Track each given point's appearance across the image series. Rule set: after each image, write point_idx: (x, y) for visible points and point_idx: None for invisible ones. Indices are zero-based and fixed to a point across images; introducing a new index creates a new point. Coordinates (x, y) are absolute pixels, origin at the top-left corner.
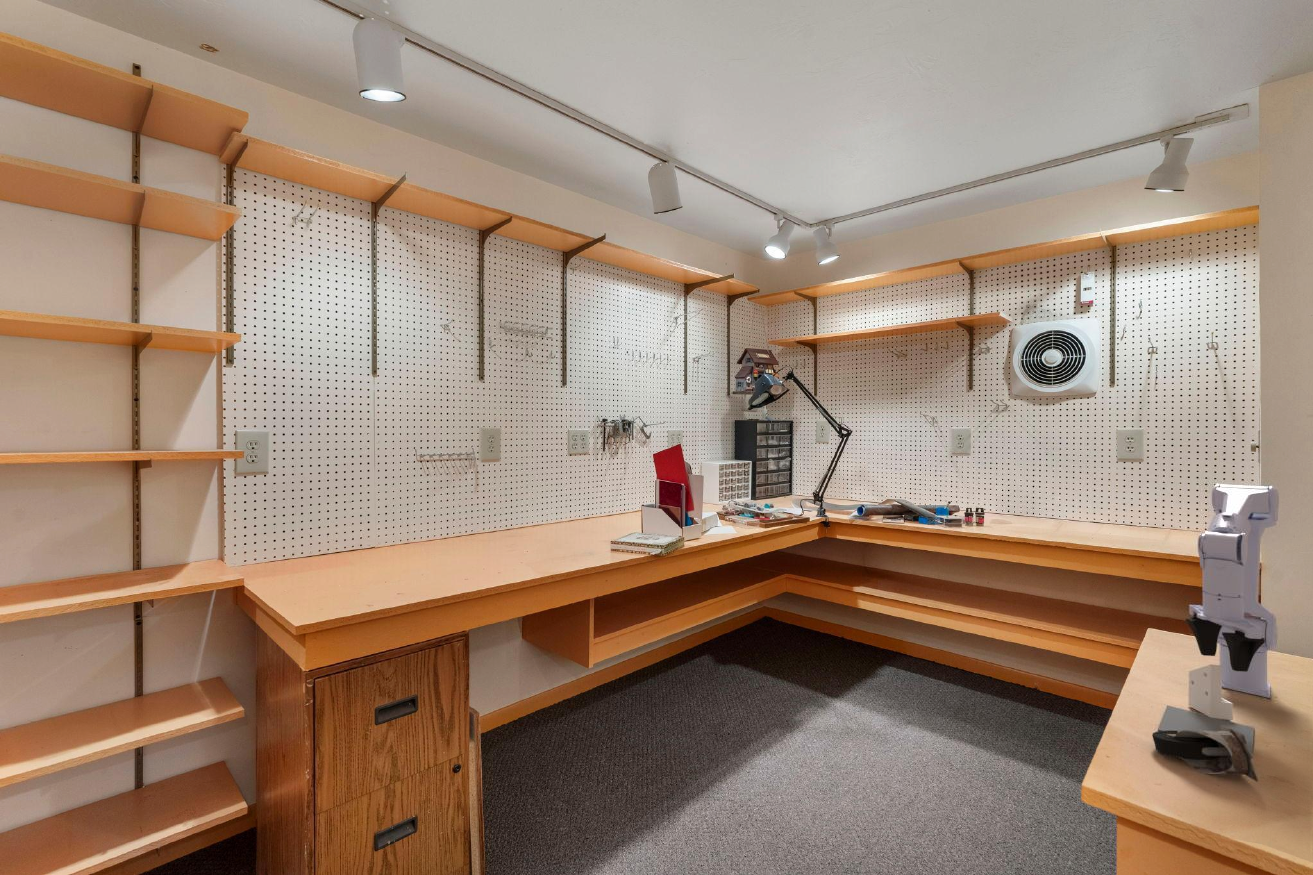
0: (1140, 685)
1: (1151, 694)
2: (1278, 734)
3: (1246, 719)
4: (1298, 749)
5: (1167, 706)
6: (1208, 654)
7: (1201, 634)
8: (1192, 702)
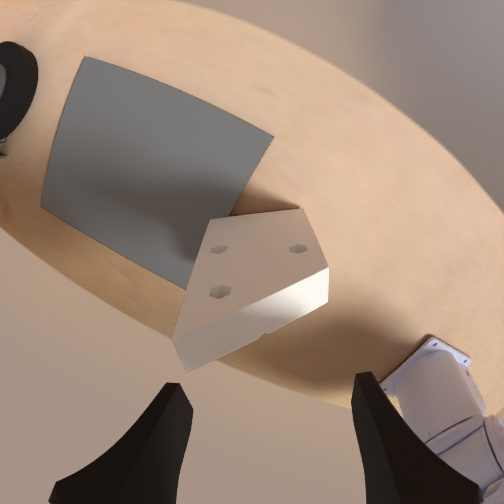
0: (434, 153)
1: (373, 143)
2: None
3: None
4: (125, 310)
5: (263, 133)
6: (355, 391)
7: (384, 466)
8: (287, 216)
